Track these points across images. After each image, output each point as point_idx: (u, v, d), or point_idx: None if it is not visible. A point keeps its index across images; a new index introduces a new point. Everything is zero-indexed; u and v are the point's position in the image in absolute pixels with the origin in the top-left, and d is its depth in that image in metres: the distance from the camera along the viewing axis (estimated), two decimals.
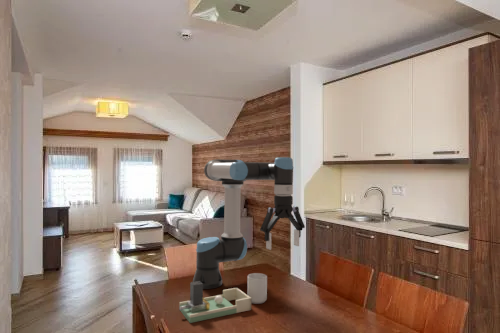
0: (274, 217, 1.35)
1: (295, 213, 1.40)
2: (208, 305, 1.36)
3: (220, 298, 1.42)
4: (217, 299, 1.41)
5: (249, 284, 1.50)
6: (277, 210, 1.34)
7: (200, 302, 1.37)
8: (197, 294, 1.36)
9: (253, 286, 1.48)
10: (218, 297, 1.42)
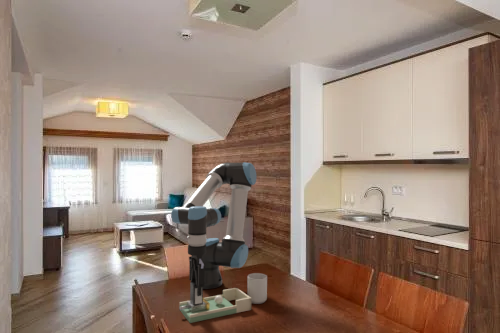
0: None
1: None
2: (208, 305, 1.36)
3: (220, 298, 1.42)
4: (217, 299, 1.41)
5: (249, 284, 1.50)
6: (191, 257, 1.41)
7: None
8: None
9: (253, 286, 1.48)
10: (218, 297, 1.42)
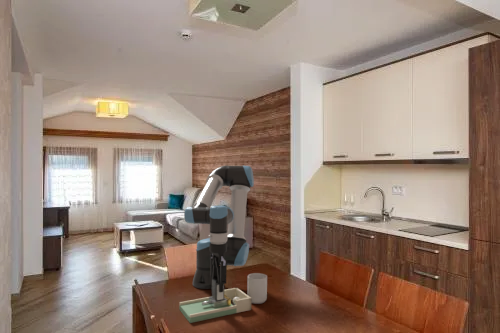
0: None
1: None
2: (229, 301, 1.41)
3: None
4: None
5: (249, 284, 1.50)
6: (212, 255, 1.45)
7: None
8: None
9: (253, 286, 1.48)
10: None
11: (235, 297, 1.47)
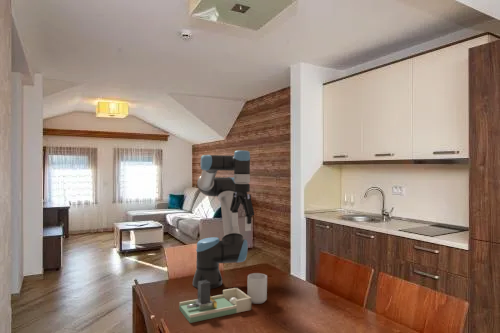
0: None
1: None
2: (215, 304, 1.38)
3: None
4: None
5: (249, 284, 1.50)
6: (236, 195, 1.61)
7: (207, 301, 1.38)
8: (205, 293, 1.38)
9: (253, 286, 1.48)
10: None
11: (230, 300, 1.45)
